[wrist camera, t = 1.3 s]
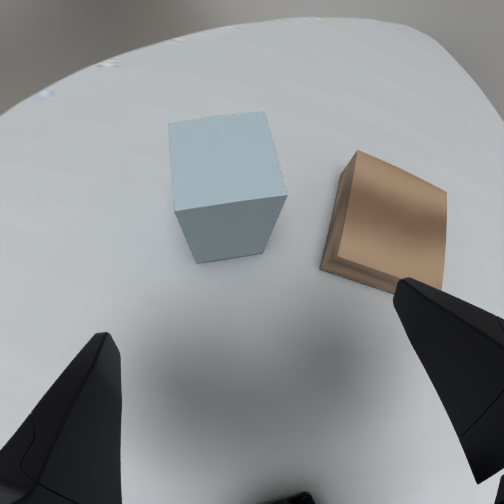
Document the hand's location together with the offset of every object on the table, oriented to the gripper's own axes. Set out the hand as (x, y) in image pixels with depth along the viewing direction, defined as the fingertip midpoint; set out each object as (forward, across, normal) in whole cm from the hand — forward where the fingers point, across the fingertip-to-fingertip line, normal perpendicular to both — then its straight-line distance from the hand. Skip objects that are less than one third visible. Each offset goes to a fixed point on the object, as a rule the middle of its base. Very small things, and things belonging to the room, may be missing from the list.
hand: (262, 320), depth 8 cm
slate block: (+15, 0, +4) cm, 15 cm away
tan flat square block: (+13, -13, +6) cm, 19 cm away
